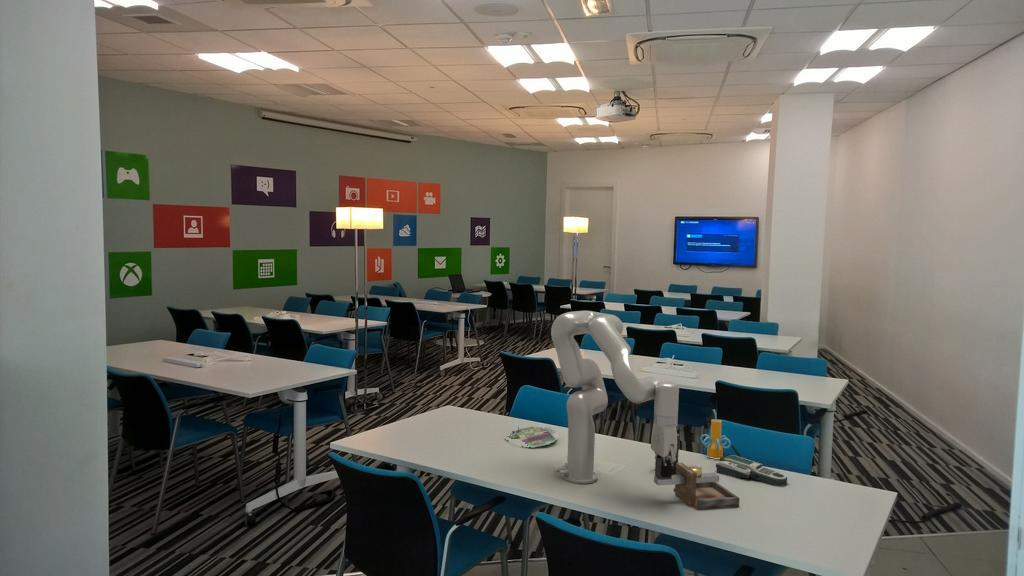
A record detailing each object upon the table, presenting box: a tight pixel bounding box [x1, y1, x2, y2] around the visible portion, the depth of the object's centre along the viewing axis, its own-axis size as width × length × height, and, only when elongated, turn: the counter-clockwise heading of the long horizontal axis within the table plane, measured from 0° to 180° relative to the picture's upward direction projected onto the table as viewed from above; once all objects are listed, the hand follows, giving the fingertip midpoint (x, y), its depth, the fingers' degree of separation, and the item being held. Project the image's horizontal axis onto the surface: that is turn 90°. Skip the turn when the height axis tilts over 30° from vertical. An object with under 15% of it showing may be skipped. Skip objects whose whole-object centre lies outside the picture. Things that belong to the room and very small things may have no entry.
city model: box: [507, 426, 560, 449], centre depth 271 cm, size 25×23×6 cm
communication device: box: [715, 444, 788, 487], centre depth 234 cm, size 12×24×9 cm, turn 48°
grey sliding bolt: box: [653, 457, 720, 486], centre depth 209 cm, size 22×4×8 cm, turn 103°
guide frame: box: [673, 462, 740, 511], centre depth 211 cm, size 16×16×11 cm
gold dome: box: [688, 465, 703, 478], centre depth 210 cm, size 4×4×2 cm
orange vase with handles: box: [700, 418, 732, 458], centre depth 255 cm, size 12×10×15 cm
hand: (663, 474), depth 208 cm, fingers closed on grey sliding bolt, 4 cm apart
